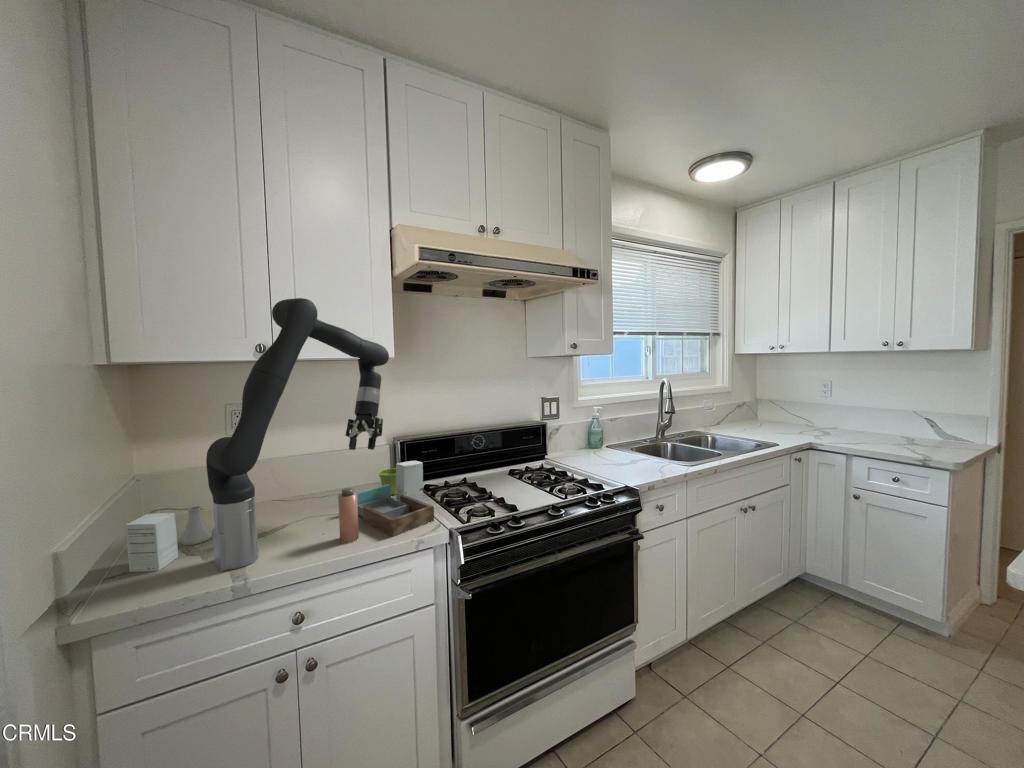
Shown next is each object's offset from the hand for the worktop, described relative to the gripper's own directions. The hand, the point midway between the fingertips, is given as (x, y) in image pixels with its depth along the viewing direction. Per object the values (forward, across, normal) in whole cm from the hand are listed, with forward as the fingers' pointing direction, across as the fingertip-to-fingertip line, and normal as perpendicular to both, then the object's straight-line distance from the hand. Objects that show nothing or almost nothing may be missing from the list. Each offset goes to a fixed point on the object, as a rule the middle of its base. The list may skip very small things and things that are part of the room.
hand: (361, 449), depth 140 cm
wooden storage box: (+22, +11, +10) cm, 27 cm away
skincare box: (+17, +2, +24) cm, 30 cm away
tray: (+20, +1, +12) cm, 24 cm away
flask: (+30, -34, -27) cm, 52 cm away
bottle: (+27, +6, -6) cm, 28 cm away
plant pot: (+14, -11, +28) cm, 33 cm away
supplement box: (+34, -28, -39) cm, 59 cm away
